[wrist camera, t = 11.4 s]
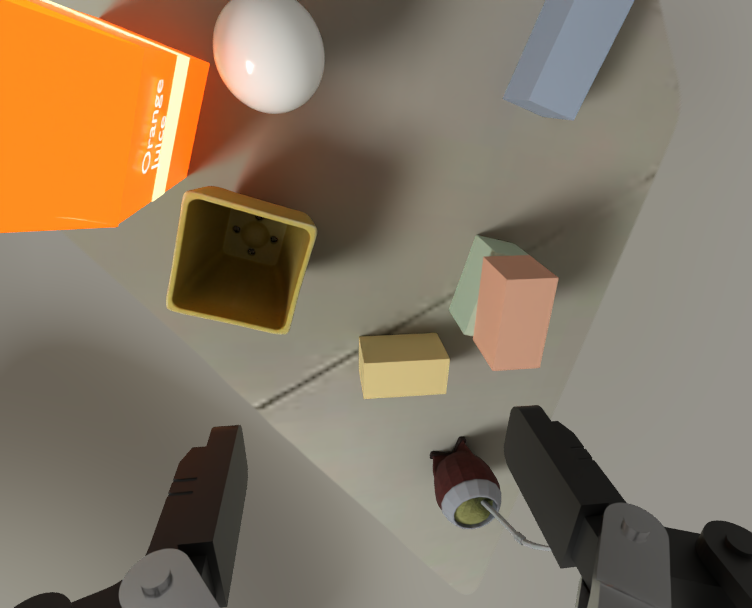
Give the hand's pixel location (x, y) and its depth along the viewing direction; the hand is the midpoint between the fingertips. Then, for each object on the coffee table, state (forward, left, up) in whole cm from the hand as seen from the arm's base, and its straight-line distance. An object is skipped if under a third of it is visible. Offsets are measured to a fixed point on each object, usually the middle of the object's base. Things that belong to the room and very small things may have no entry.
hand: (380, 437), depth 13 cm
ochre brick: (+15, +6, -28) cm, 33 cm away
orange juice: (-8, -14, -28) cm, 33 cm away
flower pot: (+2, -7, -28) cm, 29 cm away
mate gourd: (+30, +14, -28) cm, 44 cm away
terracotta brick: (+7, +14, -23) cm, 28 cm away
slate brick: (-12, +17, -28) cm, 35 cm away
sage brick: (+7, +14, -28) cm, 32 cm away
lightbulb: (-11, -4, -28) cm, 31 cm away
